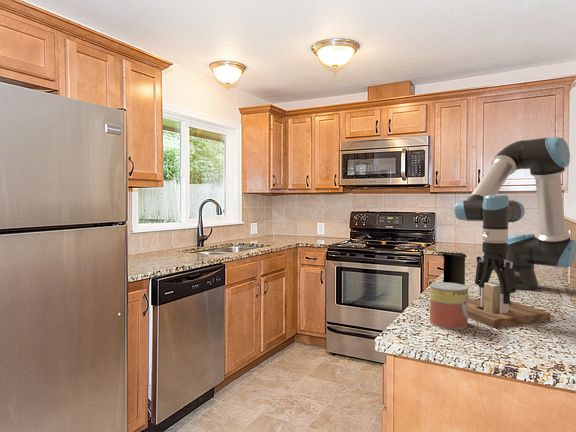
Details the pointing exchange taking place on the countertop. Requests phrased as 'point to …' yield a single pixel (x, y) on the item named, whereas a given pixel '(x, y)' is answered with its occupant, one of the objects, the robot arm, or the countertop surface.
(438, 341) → the countertop surface
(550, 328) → the countertop surface
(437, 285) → the canned food
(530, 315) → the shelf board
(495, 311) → the box
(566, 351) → the countertop surface
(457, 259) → the container
